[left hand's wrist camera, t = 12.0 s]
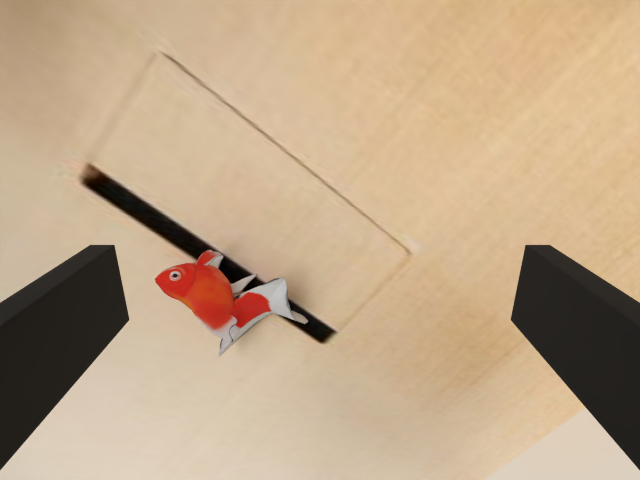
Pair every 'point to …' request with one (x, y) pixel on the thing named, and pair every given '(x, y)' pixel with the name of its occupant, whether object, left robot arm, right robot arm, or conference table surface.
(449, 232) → the conference table surface
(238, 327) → the fish
